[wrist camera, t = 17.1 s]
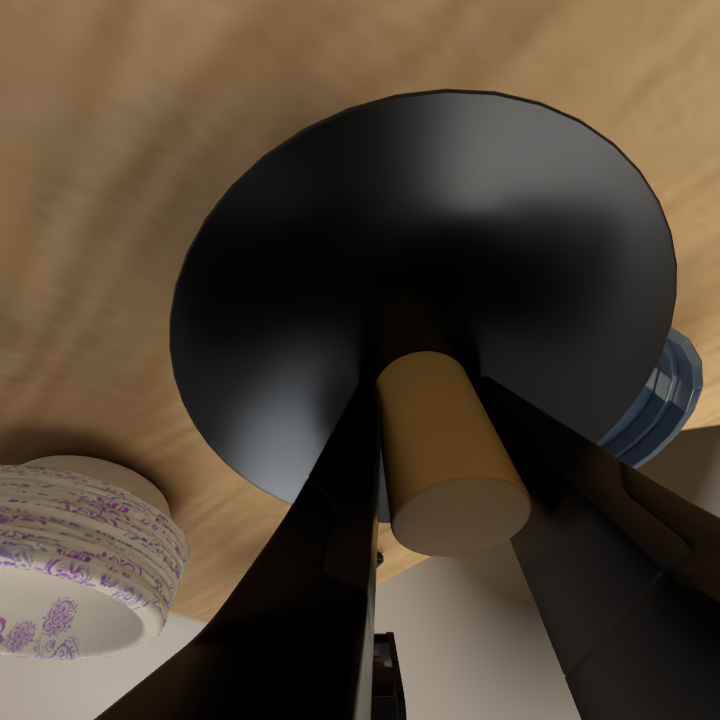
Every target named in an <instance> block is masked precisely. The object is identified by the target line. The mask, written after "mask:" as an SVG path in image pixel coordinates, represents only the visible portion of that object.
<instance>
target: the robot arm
mask: <svg viewBox="0 0 720 720" xmlns="http://www.w3.org/2000/svg"><path fill="white" fill-rule="evenodd" d="M470 382H471V384H472V386H473V388H474V390H475V392H476V394H477V395H478V397H479V399H480V401H481V403H482V405H483V407H484V409H485V411H486V413H487V415H488V417H489V419H490V420H491V422H492V424H493V426H494V428H495V430H496V432H497V434H498V436H499V438H500V440H501V442H502V444H503V445H504V447H505V449H506V451H507V453H508V455H509V457H510V459H511V461H512V463H513V465H514V467H515V468H516V470H517V472H518V474H519V476H520V478H521V480H522V482H523V484H524V486H525V488H526V490H527V492H528V493H529V496H530V498H531V504H532V508H531V514H530V517H529V519H528V521H527V522H526V524H525V525H524V526H523V528H522V529H521V530H520V531H519V532H517V533H516V534H515V535H514V536H512V537H511V538H510V541H511V543H512V546H513V548H514V551H515V553H516V556H517V558H518V561H519V563H520V566H521V568H522V571H523V573H524V576H525V578H526V581H527V583H528V586H529V588H530V591H531V593H532V596H533V598H534V601H535V603H536V606H537V608H538V611H539V613H540V616H541V618H542V621H543V623H544V626H545V629H546V631H547V634H548V636H549V639H550V641H551V644H552V646H553V649H554V651H555V653H556V656H557V659H558V661H559V664H560V666H561V669H562V671H563V673H564V675H566V676H565V679H566V682H567V684H568V687H569V689H570V691H571V694H572V697H573V699H574V702H575V705H576V707H577V710H578V712H579V714H580V717H581V720H720V518H719V517H717V516H715V515H713V514H712V513H710V512H708V511H706V510H704V509H703V508H701V507H699V506H697V505H696V504H694V503H692V502H690V501H689V500H687V499H685V498H683V497H682V496H680V495H678V494H676V493H674V492H673V491H671V490H669V489H668V488H666V487H664V486H663V485H661V484H659V483H658V482H656V481H654V480H653V479H651V478H649V477H648V476H646V475H644V474H643V473H641V472H640V471H638V470H636V469H635V468H633V467H632V466H630V465H629V464H627V463H625V462H624V461H619V459H618V458H617V457H616V456H614V455H612V454H611V453H609V452H608V451H606V450H604V449H603V448H601V447H600V446H598V445H596V444H595V443H593V442H592V441H590V440H588V439H587V438H585V437H584V436H582V435H580V434H579V433H577V432H576V431H574V430H573V429H571V428H569V427H568V426H566V425H565V424H563V423H561V422H560V421H558V420H557V419H555V418H553V417H552V416H550V415H549V414H547V413H545V412H544V411H542V410H541V409H539V408H537V407H536V406H534V405H533V404H531V403H529V402H528V401H526V400H525V399H523V398H522V397H520V396H518V395H517V394H515V393H514V392H512V391H510V390H509V389H507V388H506V387H504V386H502V385H501V384H499V383H498V382H496V381H494V380H493V379H491V378H490V377H488V376H475V377H471V378H470ZM380 415H381V414H380V406H379V401H378V395H377V390H376V385H375V383H374V382H360V383H359V384H358V385H357V387H356V389H355V391H354V392H353V394H352V396H351V398H350V400H349V402H348V404H347V405H346V407H345V409H344V411H343V413H342V415H341V417H340V418H339V420H338V422H337V424H336V426H335V428H334V430H333V431H332V433H331V435H330V437H329V439H328V441H327V443H326V444H325V446H324V448H323V450H322V452H321V454H320V456H319V457H318V459H317V461H316V463H315V465H314V467H313V469H312V470H311V472H310V474H309V476H308V479H306V481H305V483H304V485H303V487H302V489H301V490H300V492H299V494H298V496H297V498H296V499H295V501H294V503H293V504H292V506H291V508H290V510H289V511H288V513H287V515H286V516H285V518H284V519H283V521H282V522H281V524H280V525H279V526H278V528H277V529H276V531H275V532H274V534H273V535H272V537H271V538H270V540H269V541H268V543H267V544H266V545H265V547H264V548H263V550H262V551H261V552H260V554H259V555H258V557H257V558H256V560H255V561H254V562H253V564H252V565H251V567H250V568H249V569H248V571H247V572H246V574H245V575H244V576H243V578H242V579H241V581H240V582H239V583H238V585H237V586H236V588H235V589H234V590H233V592H232V593H231V595H230V596H229V598H228V599H227V600H226V602H225V603H224V604H223V606H222V607H221V608H220V610H219V611H218V612H217V614H216V615H215V616H214V617H213V618H212V620H211V621H210V622H209V623H208V624H207V625H206V626H205V627H204V629H203V630H202V631H201V632H200V633H199V634H198V635H197V636H196V637H195V638H194V639H193V640H192V641H191V642H189V643H188V644H187V645H186V646H185V647H184V648H182V649H181V650H180V651H179V652H177V653H176V654H175V655H174V656H172V657H171V658H170V659H169V660H167V661H166V662H165V663H164V664H162V665H161V666H160V667H159V668H158V669H156V670H155V671H154V672H153V673H152V674H150V675H149V676H148V677H146V678H145V679H144V680H143V681H141V682H140V683H139V684H138V685H137V686H135V687H134V688H133V689H132V690H130V691H129V692H128V693H126V694H125V695H124V696H123V697H121V698H120V699H119V700H118V701H117V702H115V703H114V704H113V705H112V706H110V707H109V708H108V709H107V710H105V711H104V712H103V713H102V714H101V715H99V716H98V717H97V718H95V719H94V720H406V707H405V698H404V691H403V685H402V680H401V674H400V668H399V662H398V657H397V651H396V645H395V640H394V634H393V632H386V634H374V615H375V591H376V568H377V567H378V566H379V565H380V564H382V563H383V561H384V560H383V555H381V554H377V540H378V515H379V490H380Z"/></svg>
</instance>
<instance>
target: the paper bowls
mask: <svg viewBox="0 0 720 720" xmlns="http://www.w3.org/2000/svg"><path fill="white" fill-rule="evenodd" d="M189 552H190V550H189V544H188V541H187V538H186V535H185V533H184V531H183V530H182V529H181V528H180V527H179V526H178V525H177V524H176V523H175V522H174V520H172V519H171V517H170V510H169V506H168V504H167V501H166V500H165V498H164V496H163V495H162V493H161V492H160V491H159V490H158V489H157V488H156V487H155V486H154V485H153V484H152V483H151V482H150V481H148V480H147V479H146V478H144V477H143V476H141V475H139V474H138V473H136V472H134V471H132V470H130V469H128V468H126V467H123V466H121V465H118V464H115V463H112V462H109V461H106V460H102V459H97V458H92V457H85V456H75V455H58V456H49V457H43V458H39V459H35V460H32V461H29V462H26V463H24V464H22V465H0V654H1V655H8V656H17V657H26V658H36V659H54V660H55V659H60V660H64V659H66V660H73V659H92V658H104V657H112V656H116V655H122V654H126V653H129V652H132V651H136V650H138V649H140V648H143V647H144V646H146V645H148V644H150V643H151V642H152V641H153V640H154V639H155V638H156V637H157V636H158V635H159V634H160V632H161V631H162V629H163V627H164V625H165V623H166V618H167V613H168V611H169V609H170V606H171V604H172V603H173V601H174V598H175V596H176V594H177V589H178V586H179V584H180V582H181V579H182V577H183V573H184V571H185V567H186V564H187V561H188V559H189Z"/></svg>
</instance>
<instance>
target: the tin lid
mask: <svg viewBox="0 0 720 720" xmlns="http://www.w3.org/2000/svg"><path fill="white" fill-rule="evenodd" d="M676 288H677V263H676V257H675V251H674V246H673V240H672V234H671V231H670V228H669V225H668V223H667V220H666V217H665V215H664V212H663V209H662V207H661V204H660V201H659V200H658V198H657V197H656V195H655V193H654V192H653V190H652V189H651V187H650V185H649V184H648V182H647V181H646V179H645V177H644V176H643V174H642V173H641V171H640V170H639V169H638V168H637V167H636V166H635V165H634V163H633V162H632V161H631V160H630V159H629V158H628V157H627V156H626V155H625V154H624V153H623V152H622V151H621V150H620V149H619V148H618V147H617V146H616V145H615V144H614V143H613V142H612V141H610V140H609V139H608V138H606V137H605V136H603V135H602V134H600V133H599V132H598V131H596V130H595V129H593V128H592V127H590V126H589V125H587V124H586V123H585V122H583V121H582V120H580V119H578V118H576V117H574V116H571V115H569V114H567V113H564V112H562V111H560V110H558V109H555V108H553V107H551V106H548V105H546V104H544V103H542V102H539V101H534V100H530V99H526V98H521V97H517V96H513V95H508V94H504V93H500V92H496V91H479V90H460V89H440V90H431V91H422V92H414V93H405V94H396V95H393V96H389V97H386V98H382V99H379V100H375V101H372V102H368V103H365V104H361V105H358V106H354V107H350V108H347V109H345V110H343V111H341V112H339V113H337V114H334V115H332V116H330V117H328V118H326V119H324V120H321V121H319V122H317V123H315V124H313V125H311V126H308V127H306V128H304V129H302V130H301V131H299V132H298V133H296V134H295V135H293V136H292V137H290V138H289V139H287V140H286V141H284V142H283V143H281V144H280V145H278V146H277V147H275V148H274V149H272V150H271V151H269V152H268V153H267V154H265V155H264V156H263V157H261V158H260V159H259V160H258V161H257V162H256V163H255V164H254V165H253V166H252V167H251V168H250V169H249V170H247V171H246V172H245V173H244V174H243V175H242V176H241V177H240V178H239V179H238V180H237V181H236V182H234V183H233V184H232V185H231V186H230V188H229V189H228V190H227V191H226V193H225V194H224V195H223V197H222V198H221V199H220V200H219V202H218V203H217V204H216V206H215V207H214V208H213V209H212V211H211V212H210V213H209V214H208V216H207V217H206V218H205V220H204V222H203V224H202V226H201V227H200V229H199V231H198V233H197V235H196V236H195V238H194V240H193V242H192V244H191V245H190V247H189V249H188V251H187V253H186V256H185V259H184V262H183V265H182V267H181V270H180V273H179V276H178V279H177V282H176V285H175V290H174V295H173V301H172V307H171V313H170V354H171V360H172V366H173V373H174V377H175V381H176V384H177V387H178V390H179V393H180V396H181V399H182V402H183V404H184V406H185V408H186V410H187V412H188V414H189V416H190V417H191V419H192V421H193V423H194V425H195V426H196V428H197V429H198V431H199V432H200V434H201V435H202V436H203V438H204V439H205V441H206V442H207V444H208V445H209V446H210V447H211V448H212V449H213V450H214V451H215V452H216V453H217V455H218V456H219V457H220V458H221V459H222V460H223V461H224V462H225V463H226V464H227V465H229V466H230V467H231V468H232V469H233V470H234V471H236V472H237V473H238V474H239V475H240V476H242V477H243V478H245V479H246V480H248V481H249V482H251V483H252V484H254V485H255V486H256V487H258V488H259V489H261V490H263V491H265V492H267V493H269V494H271V495H273V496H274V497H276V498H278V499H280V500H283V501H285V502H287V503H290V504H293V503H294V501H295V499H296V498H297V496H298V494H299V492H300V490H301V489H302V487H303V485H304V483H305V481H306V479H308V476H309V474H310V472H311V470H312V469H313V467H314V465H315V463H316V461H317V459H318V457H319V456H320V454H321V452H322V450H323V448H324V446H325V444H326V443H327V441H328V439H329V437H330V435H331V433H332V431H333V430H334V428H335V426H336V424H337V422H338V420H339V418H340V417H341V415H342V413H343V411H344V409H345V407H346V405H347V404H348V402H349V400H350V398H351V396H352V394H353V392H354V391H355V389H356V387H357V385H358V384H359V383H360V382H374V383H375V385H376V390H377V395H378V401H379V406H380V414H381V415H380V490H379V515H378V522H382V523H390V524H391V529H392V533H393V534H394V536H395V538H396V539H397V541H398V542H399V543H400V544H402V545H403V546H404V547H406V548H407V549H409V550H411V551H414V552H416V553H420V554H424V555H429V556H438V557H452V556H462V555H468V554H473V553H477V552H481V551H484V550H486V549H490V548H492V547H494V546H496V545H499V544H501V543H502V542H504V541H506V540H508V539H509V538H511V537H512V536H514V535H515V534H516V533H517V532H519V531H520V530H521V529H522V528H523V526H524V525H525V524H526V522H527V521H528V519H529V517H530V514H531V508H532V504H531V498H530V496H529V493H528V492H527V490H526V488H525V486H524V484H523V482H522V480H521V478H520V476H519V474H518V472H517V470H516V468H515V467H514V465H513V463H512V461H511V459H510V457H509V455H508V453H507V451H506V449H505V447H504V445H503V444H502V442H501V440H500V438H499V436H498V434H497V432H496V430H495V428H494V426H493V424H492V422H491V420H490V419H489V417H488V415H487V413H486V411H485V409H484V407H483V405H482V403H481V401H480V399H479V397H478V395H477V394H476V392H475V390H474V388H473V386H472V384H471V382H470V378H471V377H475V376H488V377H490V378H491V379H493V380H494V381H496V382H498V383H499V384H501V385H502V386H504V387H506V388H507V389H509V390H510V391H512V392H514V393H515V394H517V395H518V396H520V397H522V398H523V399H525V400H526V401H528V402H529V403H531V404H533V405H534V406H536V407H537V408H539V409H541V410H542V411H544V412H545V413H547V414H549V415H550V416H552V417H553V418H555V419H557V420H558V421H560V422H561V423H563V424H565V425H566V426H568V427H569V428H571V429H573V430H574V431H576V432H577V433H579V434H580V435H582V436H584V437H585V438H587V439H588V440H590V441H592V442H593V443H595V444H597V443H598V442H599V441H600V440H601V439H602V438H603V437H604V436H605V435H606V434H607V433H608V432H609V431H610V430H611V429H612V428H613V427H614V426H615V425H616V424H617V423H618V422H619V421H620V419H621V418H622V417H623V416H624V414H625V413H626V412H627V411H628V409H629V408H630V407H631V406H632V404H633V403H634V402H635V401H636V399H637V397H638V396H639V394H640V393H641V391H642V390H643V388H644V386H645V385H646V383H647V382H648V380H649V379H650V377H651V375H652V373H653V371H654V369H655V366H656V364H657V362H658V360H659V358H660V356H661V354H662V352H663V349H664V346H665V343H666V339H667V336H668V333H669V330H670V327H671V324H672V318H673V312H674V306H675V301H676Z"/></svg>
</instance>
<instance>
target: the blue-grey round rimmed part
mask: <svg viewBox="0 0 720 720" xmlns="http://www.w3.org/2000/svg"><path fill="white" fill-rule="evenodd" d="M702 388H703V372H702V360H701V358H700V357H699V355H698V353H697V351H696V350H695V348H694V346H693V344H692V343H691V341H690V340H689V338H687V337H686V336H684V335H683V334H681V333H680V332H678V331H677V330H675V329H674V328H672V327H670V330H669V333H668V336H667V339H666V343H665V346H664V349H663V352H662V354H661V356H660V358H659V360H658V362H657V364H656V366H655V369H654V371H653V373H652V375H651V377H650V379H649V380H648V382H647V383H646V385H645V386H644V388H643V390H642V391H641V393H640V394H639V396H638V397H637V399H636V401H635V402H634V403H633V404H632V406H631V407H630V408H629V409H628V411H627V412H626V413H625V414H624V416H623V417H622V418H621V419H620V421H619V422H618V423H617V424H616V425H615V426H614V427H613V428H612V429H611V430H610V431H609V432H608V433H607V434H606V435H605V436H604V437H603V438H602V439H601V440H600V441H599V442H598V443H597V444H596V445H598V446H600V447H601V448H603V449H604V450H606V451H608V452H609V453H611V454H612V455H614V456H616V457H617V458H618V459H619V461H624V462H625V463H627V464H629V465H630V466H632V467H633V468H635V469H637V468H639V467H640V466H641V465H643V464H644V463H646V462H647V461H649V460H650V459H652V458H653V457H654V456H655V455H657V454H658V453H659V452H660V451H661V450H662V449H663V448H664V447H665V446H666V445H667V444H668V443H669V442H670V441H671V440H673V438H675V437H676V436H677V434H678V433H679V432H680V430H681V429H682V428H683V426H684V425H685V423H686V422H687V420H688V419H689V418H690V416H691V415H692V413H693V412H694V410H695V407H696V404H697V402H698V399H699V396H700V393H701V390H702Z"/></svg>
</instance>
